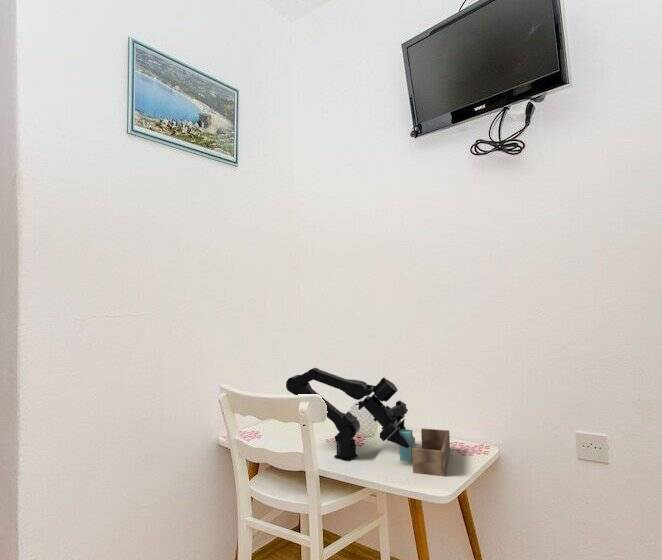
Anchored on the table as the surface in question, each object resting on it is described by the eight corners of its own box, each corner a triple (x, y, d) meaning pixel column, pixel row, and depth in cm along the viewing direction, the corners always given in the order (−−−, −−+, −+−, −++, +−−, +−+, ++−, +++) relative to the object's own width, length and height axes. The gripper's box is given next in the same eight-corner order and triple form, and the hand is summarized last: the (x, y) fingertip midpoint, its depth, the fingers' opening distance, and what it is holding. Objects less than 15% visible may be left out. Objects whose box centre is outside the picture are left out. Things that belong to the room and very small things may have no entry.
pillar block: (399, 464, 146) (399, 432, 146) (401, 460, 150) (401, 429, 150) (411, 465, 144) (410, 433, 145) (413, 461, 148) (412, 430, 149)
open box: (413, 477, 135) (412, 449, 135) (422, 452, 156) (421, 428, 157) (445, 481, 131) (444, 452, 132) (450, 455, 153) (449, 430, 154)
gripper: (388, 401, 141) (422, 437, 136) (398, 389, 158) (429, 421, 154) (365, 423, 143) (399, 459, 139) (378, 409, 161) (408, 441, 156)
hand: (409, 444), depth 147 cm, fingers open, 6 cm apart
